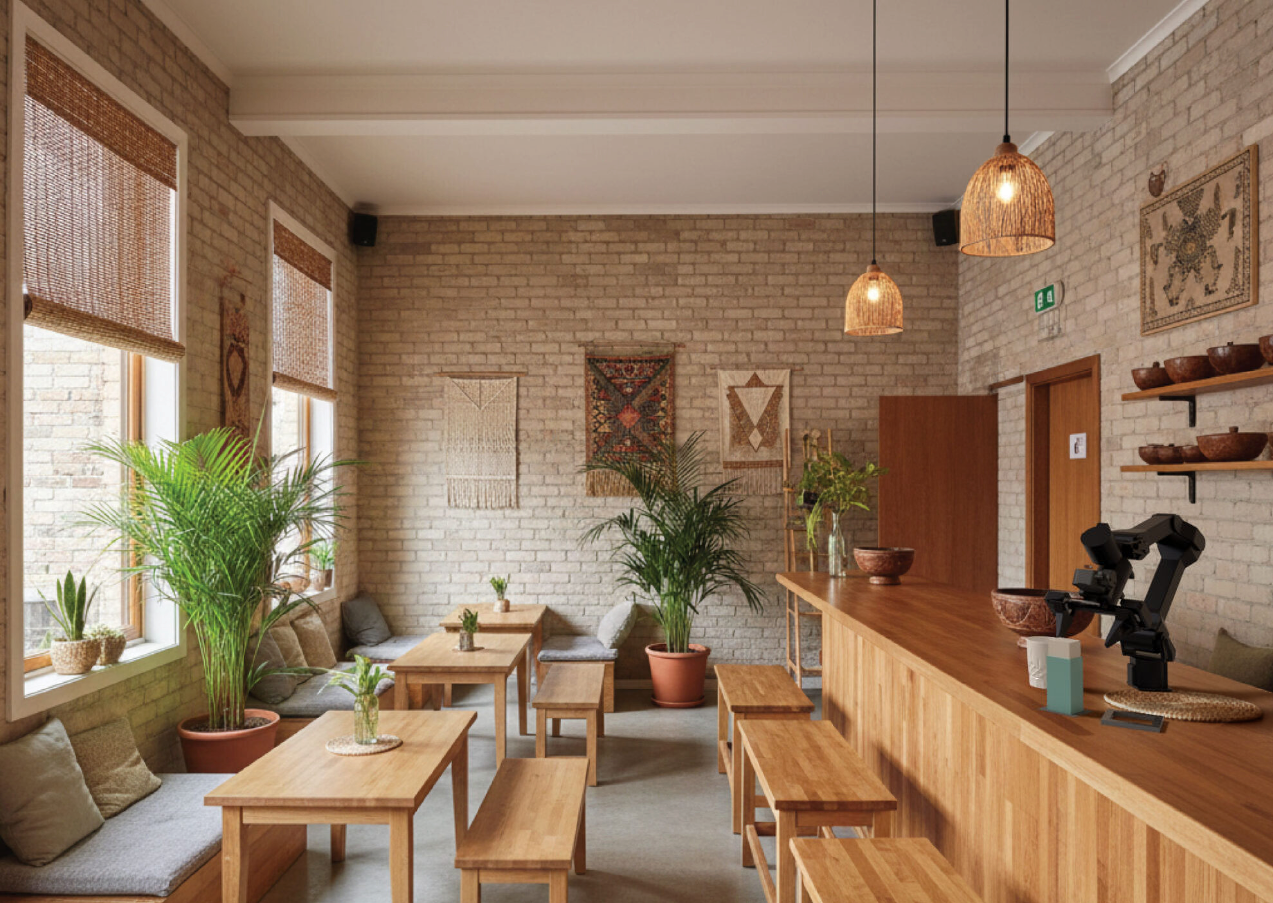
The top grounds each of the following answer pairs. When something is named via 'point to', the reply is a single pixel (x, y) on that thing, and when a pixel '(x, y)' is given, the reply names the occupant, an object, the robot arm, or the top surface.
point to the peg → (1064, 676)
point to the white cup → (1037, 660)
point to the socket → (1131, 725)
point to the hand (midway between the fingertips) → (1081, 642)
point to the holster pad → (1067, 714)
